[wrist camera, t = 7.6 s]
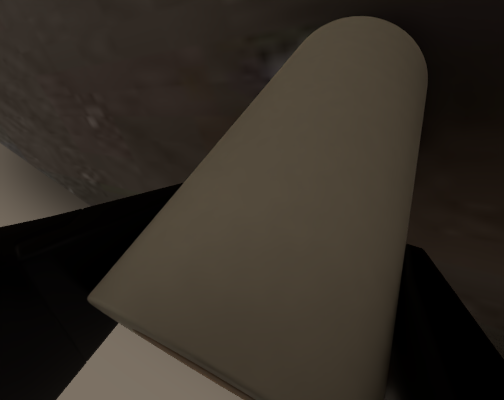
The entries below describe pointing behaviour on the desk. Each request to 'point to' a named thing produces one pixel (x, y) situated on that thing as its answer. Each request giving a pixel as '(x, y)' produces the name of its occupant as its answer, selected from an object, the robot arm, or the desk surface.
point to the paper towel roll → (290, 228)
